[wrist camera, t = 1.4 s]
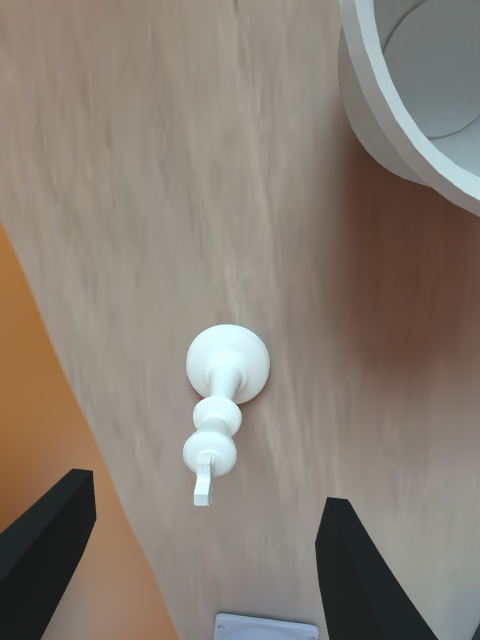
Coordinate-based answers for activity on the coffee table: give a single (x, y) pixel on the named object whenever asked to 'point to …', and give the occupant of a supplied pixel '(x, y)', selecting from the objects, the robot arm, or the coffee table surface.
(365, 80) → the teacup
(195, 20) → the coffee table surface
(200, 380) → the chess piece
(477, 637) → the bin
